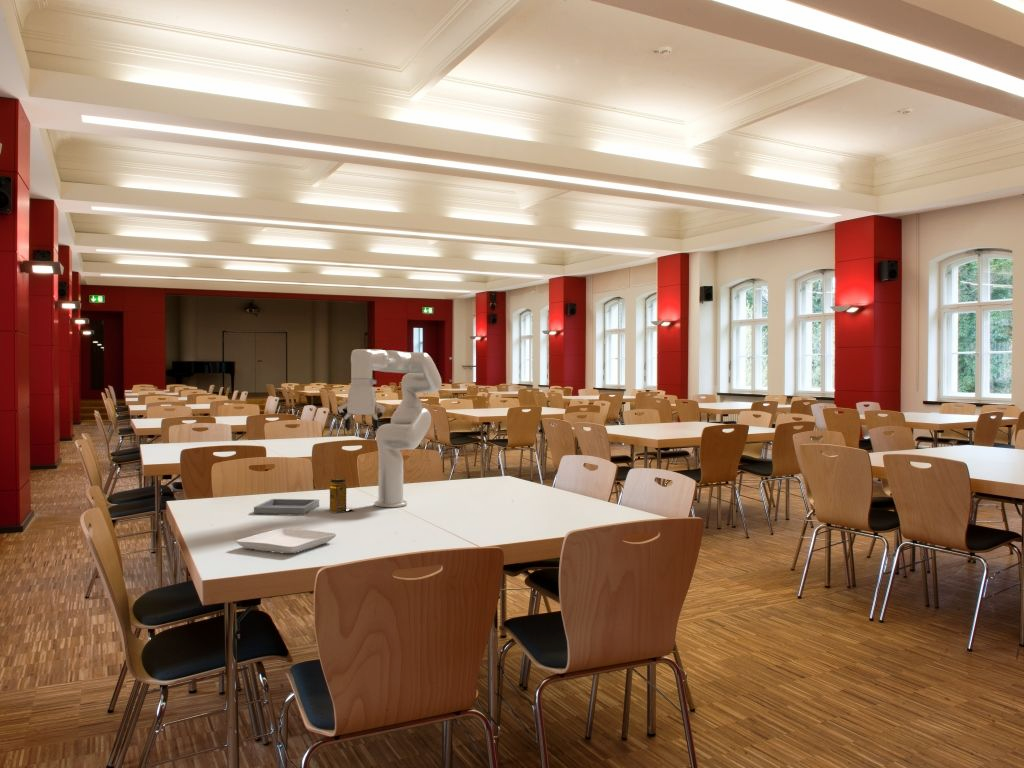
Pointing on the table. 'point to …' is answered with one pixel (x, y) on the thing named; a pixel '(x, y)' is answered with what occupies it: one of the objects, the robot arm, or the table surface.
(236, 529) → the table surface
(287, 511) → the tray
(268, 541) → the salad plate
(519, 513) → the table surface
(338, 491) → the condiment
